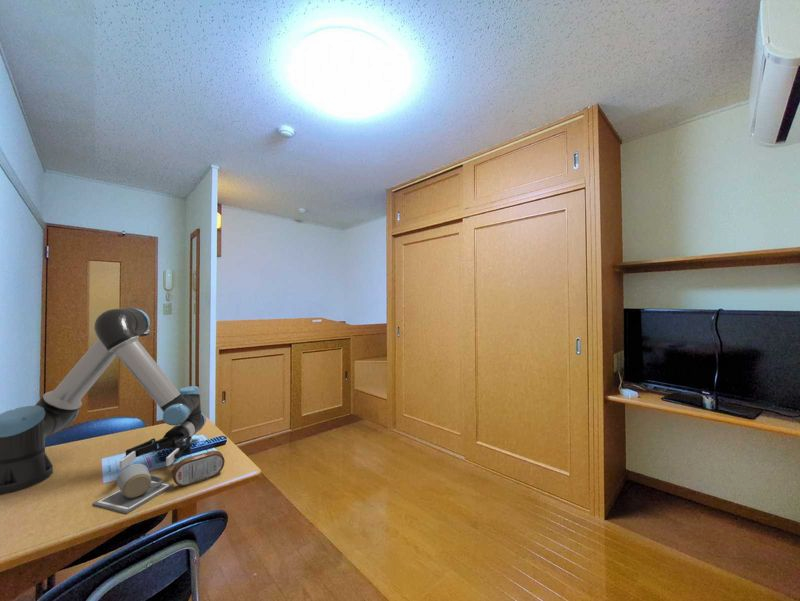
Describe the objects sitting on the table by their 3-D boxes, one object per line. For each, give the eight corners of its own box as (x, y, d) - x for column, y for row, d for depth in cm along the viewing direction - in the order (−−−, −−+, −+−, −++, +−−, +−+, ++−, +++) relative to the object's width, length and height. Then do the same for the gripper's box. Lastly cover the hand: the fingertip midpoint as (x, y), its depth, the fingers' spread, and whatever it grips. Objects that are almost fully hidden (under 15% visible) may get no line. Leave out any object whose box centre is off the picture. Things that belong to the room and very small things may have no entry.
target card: (92, 505, 95) (92, 502, 95) (141, 479, 108) (141, 477, 108) (126, 514, 91) (126, 511, 91) (173, 486, 105) (173, 483, 105)
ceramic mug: (122, 504, 94) (122, 478, 94) (116, 493, 100) (116, 468, 100) (165, 488, 102) (165, 464, 102) (158, 478, 108) (158, 455, 108)
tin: (223, 470, 114) (223, 446, 114) (225, 473, 112) (225, 449, 112) (171, 487, 104) (171, 461, 104) (173, 491, 102) (172, 465, 102)
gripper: (214, 442, 127) (186, 471, 106) (143, 446, 123) (100, 478, 102) (213, 423, 127) (186, 449, 106) (143, 427, 123) (100, 454, 102)
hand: (144, 463), depth 104 cm, fingers open, 13 cm apart
